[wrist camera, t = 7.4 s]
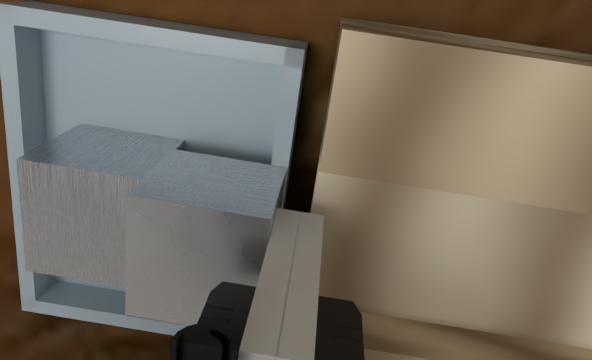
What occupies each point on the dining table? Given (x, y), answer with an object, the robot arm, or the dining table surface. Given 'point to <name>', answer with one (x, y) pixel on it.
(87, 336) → the dining table surface
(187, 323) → the light grey cube
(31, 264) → the grey cube block
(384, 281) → the slot board
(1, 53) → the tray
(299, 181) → the dining table surface
